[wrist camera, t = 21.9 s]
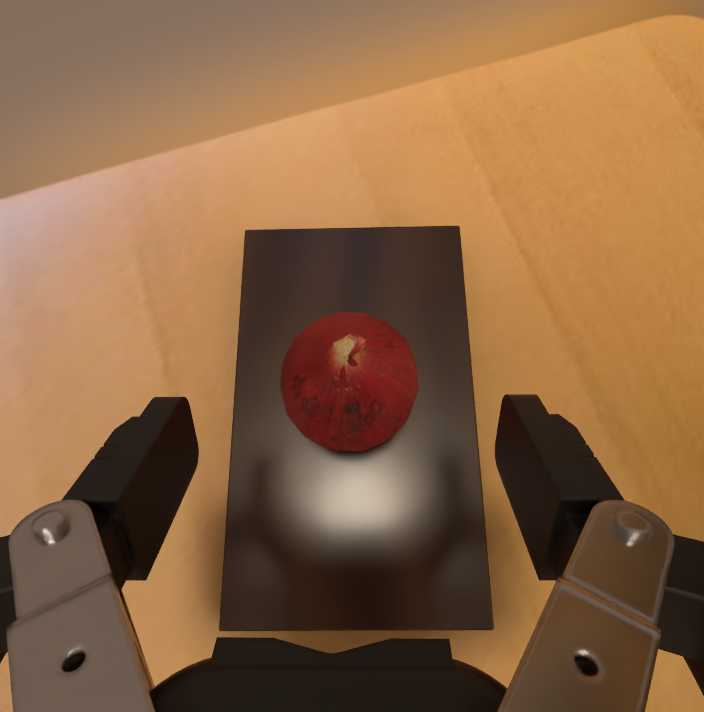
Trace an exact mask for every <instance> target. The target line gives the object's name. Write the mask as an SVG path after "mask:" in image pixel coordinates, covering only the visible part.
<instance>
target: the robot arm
mask: <svg viewBox="0 0 704 712" xmlns="http://www.w3.org/2000/svg"><path fill="white" fill-rule="evenodd" d="M198 456H199V449H198V442H197V437H196V433H195V428H194V423H193V419H192V414H191V409H190V405H189V402H188V400H187V398H185V397H154V398H153V399H152V400H151V401H150V403H149V404H148V406H147V407H146V408H145V410H144V411H143V413H142V414H141V415H140V417H131V418H130V419H129V420H127V421H126V422H124V423H123V424H122V425H120V426H119V427H117V428H116V429H115V430H114V431H113V432H112V434H111V435H110V436H109V438H108V439H107V440H106V442H105V443H104V447H101V448H100V450H99V451H98V452H97V454H96V455H95V459H92V460H91V462H90V463H89V464H88V466H87V467H86V468H85V470H84V471H83V472H82V474H81V475H80V476H79V478H78V479H77V480H76V482H75V483H74V484H73V486H72V487H71V488H70V490H69V491H68V492H67V494H66V495H65V496H64V498H63V499H62V500H61V501H58V502H54V503H51V504H48V505H45V506H43V507H41V508H39V509H37V510H35V511H34V512H32V513H31V514H29V515H28V516H26V517H25V518H24V519H23V520H21V522H20V523H19V524H18V525H17V526H16V527H15V528H14V530H13V531H12V533H11V535H8V536H5V537H0V663H1V661H2V659H3V658H4V656H5V654H6V653H7V651H8V656H9V668H10V679H11V691H12V702H13V712H645V708H646V704H647V699H648V694H649V689H650V685H651V680H652V675H653V670H654V666H655V661H656V656H657V652H658V649H661V650H664V651H667V652H671V653H674V654H677V655H680V656H683V657H684V659H685V661H686V663H687V665H688V667H689V668H690V670H691V672H692V674H693V676H694V678H695V680H696V682H697V684H698V686H699V688H700V689H701V691H702V693H703V695H704V542H702V541H698V540H694V539H690V538H685V537H681V536H677V535H674V534H672V532H671V530H670V529H669V527H668V526H667V525H666V524H665V523H664V521H663V520H661V519H660V518H659V517H658V516H657V515H655V514H654V513H652V512H651V511H649V510H647V509H646V508H643V507H641V506H639V505H636V504H634V503H631V502H627V501H625V500H624V499H623V497H622V496H621V494H620V493H619V491H618V490H617V488H616V487H615V485H614V484H613V482H612V481H611V479H610V478H609V476H608V475H607V473H606V472H605V470H604V469H603V467H602V466H601V464H600V463H599V461H598V460H597V458H596V457H594V454H593V452H592V451H591V449H590V448H589V446H588V445H586V442H585V440H584V439H583V437H582V436H581V434H580V433H579V431H578V430H577V428H576V427H575V426H574V425H572V424H571V423H570V422H568V421H567V420H566V419H564V418H563V417H562V416H560V415H559V414H549V413H548V412H547V410H546V408H545V407H544V405H543V404H542V402H541V400H540V399H539V397H538V396H537V395H505V396H504V397H503V400H502V404H501V410H500V417H499V423H498V429H497V435H496V441H495V459H496V465H497V469H498V471H499V474H500V477H501V479H502V482H503V485H504V487H505V490H506V493H507V495H508V498H509V501H510V503H511V506H512V509H513V511H514V514H515V517H516V519H517V522H518V525H519V527H520V530H521V533H522V535H523V538H524V541H525V544H526V546H527V549H528V552H529V554H530V557H531V560H532V562H533V565H534V568H535V570H536V573H537V576H538V578H539V580H557V581H556V583H555V585H554V587H553V589H552V592H551V594H550V596H549V598H548V600H547V603H546V605H545V607H544V609H543V612H542V614H541V616H540V618H539V620H538V623H537V625H536V627H535V629H534V631H533V634H532V636H531V638H530V640H529V643H528V645H527V647H526V649H525V651H524V654H523V656H522V658H521V660H520V663H519V665H518V667H517V669H516V671H515V674H514V676H513V678H512V680H511V682H510V685H509V687H508V689H507V688H506V687H505V686H504V685H503V684H501V683H500V682H498V681H497V680H495V679H494V678H493V677H491V676H490V675H488V674H486V673H484V672H483V671H481V670H479V669H477V668H475V667H473V666H471V665H468V664H466V663H464V662H461V661H458V660H454V659H452V654H451V648H450V642H449V639H388V640H384V641H381V642H377V643H373V644H369V645H365V646H362V647H358V648H354V649H350V650H347V651H343V652H339V653H334V654H331V653H325V652H321V651H318V650H314V649H311V648H307V647H304V646H300V645H297V644H293V643H290V642H286V641H283V640H279V639H276V638H227V637H217V639H216V643H215V647H214V650H213V654H212V658H209V659H205V660H202V661H200V662H197V663H194V664H192V665H189V666H188V667H186V668H184V669H182V670H180V671H178V672H176V673H174V674H173V675H171V676H170V677H168V678H167V679H165V680H164V681H162V682H161V683H160V684H158V685H157V686H156V687H155V686H154V683H153V680H152V677H151V674H150V672H149V669H148V666H147V663H146V660H145V657H144V654H143V651H142V648H141V645H140V642H139V639H138V636H137V633H136V630H135V627H134V624H133V621H132V618H131V615H130V612H129V609H128V606H127V603H126V600H125V598H124V595H123V592H122V590H121V589H122V587H123V585H124V583H125V581H126V580H146V579H147V577H148V575H149V573H150V571H151V568H152V566H153V564H154V562H155V559H156V557H157V555H158V553H159V551H160V548H161V546H162V544H163V542H164V539H165V537H166V535H167V533H168V530H169V528H170V526H171V524H172V522H173V519H174V517H175V515H176V513H177V510H178V508H179V506H180V504H181V501H182V499H183V497H184V495H185V493H186V490H187V488H188V486H189V484H190V481H191V479H192V477H193V475H194V473H195V470H196V467H197V463H198Z"/></svg>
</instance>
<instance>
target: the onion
mask: <svg viewBox="0 0 704 712" xmlns="http://www.w3.org/2000/svg"><path fill="white" fill-rule="evenodd" d="M280 389H281V393H282V397H283V401H284V405H285V408H286V412H287V415H288V417H289V418H290V419H291V420H292V422H293V423H294V424H295V425H296V427H297V428H298V429H299V430H300V432H301V433H302V434H303V435H304V436H305V437H306V438H308V439H310V440H312V441H314V442H316V443H318V444H319V445H321V446H323V447H325V448H327V449H329V450H331V451H353V452H363V451H365V450H368V449H370V448H372V447H375V446H377V445H379V444H382V443H384V442H386V441H389V440H390V439H391V438H392V437H393V436H394V435H395V434H396V432H397V431H398V430H399V429H400V428H401V427H402V425H403V424H404V423H405V422H406V421H407V420H408V418H409V416H410V413H411V410H412V407H413V404H414V401H415V399H416V396H417V393H418V390H419V389H418V375H417V363H416V361H415V358H414V356H413V353H412V351H411V348H410V346H409V344H408V341H407V339H406V338H405V337H404V336H403V335H402V334H400V333H399V332H398V331H397V330H396V329H395V328H394V327H393V326H391V325H390V324H389V323H388V322H387V321H384V320H381V319H379V318H376V317H373V316H370V315H368V314H365V313H360V312H337V313H334V314H331V315H328V316H326V317H323V318H320V319H317V320H314V321H313V322H312V323H311V324H310V325H308V326H307V327H306V328H305V329H304V330H302V331H301V332H300V333H299V334H298V335H296V336H295V337H294V339H293V341H292V343H291V345H290V347H289V349H288V351H287V353H286V355H285V357H284V359H283V361H282V366H281V379H280Z"/></svg>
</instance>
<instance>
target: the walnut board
mask: <svg viewBox="0 0 704 712" xmlns="http://www.w3.org/2000/svg"><path fill="white" fill-rule="evenodd" d="M337 312H360V313H365V314H368V315H370V316H373V317H376V318H379V319H381V320H384V321H387V322H388V323H389V324H390V325H391V326H393V327H394V328H395V329H396V330H397V331H398V332H399V333H400V334H402V335H403V336H404V337H405V338H406V339H407V341H408V344H409V346H410V348H411V351H412V353H413V356H414V358H415V361H416V363H417V375H418V389H419V390H418V393H417V396H416V399H415V401H414V404H413V407H412V410H411V413H410V416H409V418H408V420H407V421H406V422H405V423H404V424H403V425H402V427H401V428H400V429H399V430H398V431H397V432H396V434H395V435H394V436H393V437H392V438H391V439H390V440H389V441H386V442H384V443H382V444H379V445H377V446H375V447H372V448H370V449H368V450H365V451H363V452H353V451H331V450H329V449H327V448H325V447H323V446H321V445H319V444H318V443H316V442H314V441H312V440H310V439H308V438H306V437H305V436H304V435H303V434H302V433H301V432H300V430H299V429H298V428H297V427H296V425H295V424H294V423H293V422H292V420H291V419H290V418H289V417H288V415H287V412H286V408H285V405H284V401H283V397H282V393H281V389H280V379H281V366H282V361H283V359H284V357H285V355H286V353H287V351H288V349H289V347H290V345H291V343H292V341H293V339H294V337H295V336H296V335H298V334H299V333H300V332H301V331H302V330H304V329H305V328H306V327H307V326H308V325H310V324H311V323H312V322H313V321H314V320H317V319H320V318H323V317H326V316H328V315H331V314H334V313H337ZM493 629H494V623H493V612H492V600H491V588H490V577H489V565H488V553H487V542H486V530H485V518H484V506H483V495H482V483H481V471H480V460H479V448H478V436H477V425H476V413H475V401H474V390H473V378H472V366H471V354H470V343H469V331H468V319H467V308H466V296H465V284H464V273H463V261H462V249H461V238H460V227H459V226H424V227H374V228H325V229H276V230H246V231H245V240H244V256H243V271H242V286H241V302H240V317H239V332H238V347H237V363H236V378H235V393H234V409H233V424H232V439H231V454H230V470H229V485H228V500H227V516H226V531H225V546H224V561H223V577H222V592H221V607H220V623H219V630H220V631H399V630H493Z"/></svg>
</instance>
